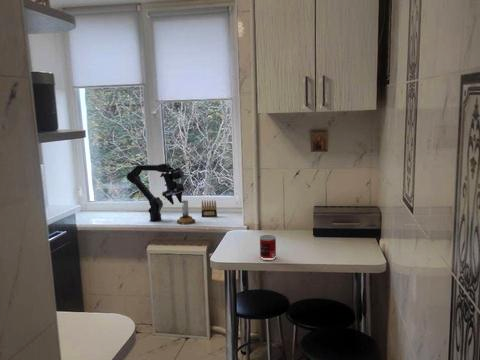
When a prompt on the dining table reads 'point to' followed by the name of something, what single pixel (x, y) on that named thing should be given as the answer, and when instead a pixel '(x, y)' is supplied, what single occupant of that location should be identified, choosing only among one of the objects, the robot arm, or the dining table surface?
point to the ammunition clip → (209, 209)
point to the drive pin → (185, 209)
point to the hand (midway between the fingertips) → (177, 203)
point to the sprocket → (185, 220)
